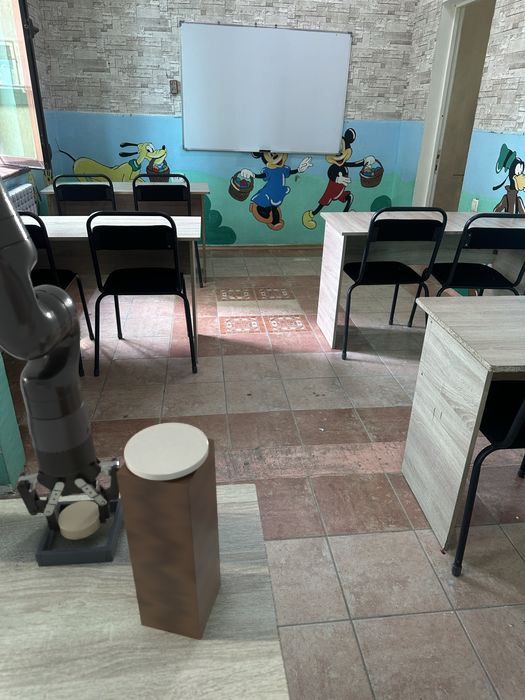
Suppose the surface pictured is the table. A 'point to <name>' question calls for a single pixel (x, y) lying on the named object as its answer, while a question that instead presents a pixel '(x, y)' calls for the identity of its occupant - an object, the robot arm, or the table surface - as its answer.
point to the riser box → (173, 546)
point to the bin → (83, 554)
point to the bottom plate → (166, 451)
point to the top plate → (79, 520)
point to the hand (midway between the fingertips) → (80, 523)
